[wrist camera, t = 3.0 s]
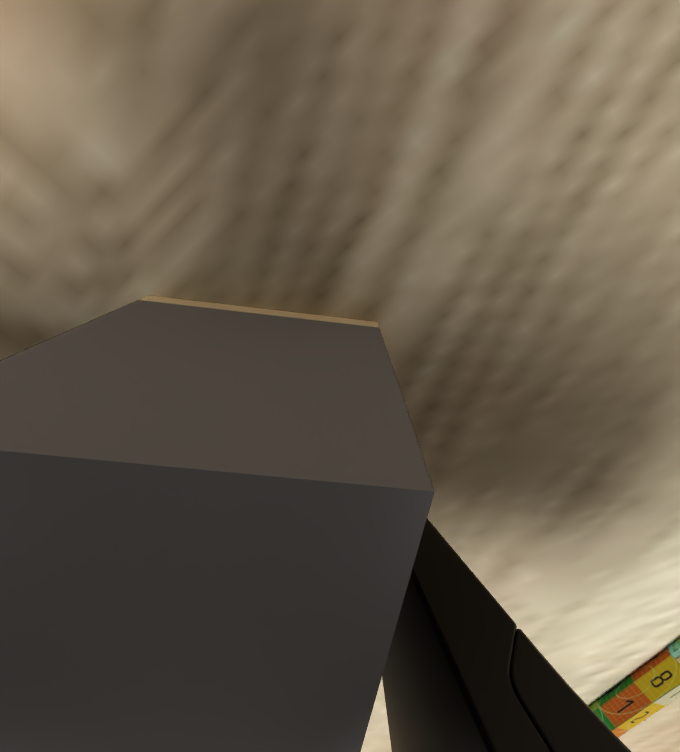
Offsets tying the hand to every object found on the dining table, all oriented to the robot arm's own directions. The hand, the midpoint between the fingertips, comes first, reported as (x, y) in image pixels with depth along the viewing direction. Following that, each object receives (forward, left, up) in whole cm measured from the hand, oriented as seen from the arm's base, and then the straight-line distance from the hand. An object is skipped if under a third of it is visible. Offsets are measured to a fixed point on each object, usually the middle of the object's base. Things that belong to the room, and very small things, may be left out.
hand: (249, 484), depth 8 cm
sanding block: (0, 0, -1) cm, 1 cm away
